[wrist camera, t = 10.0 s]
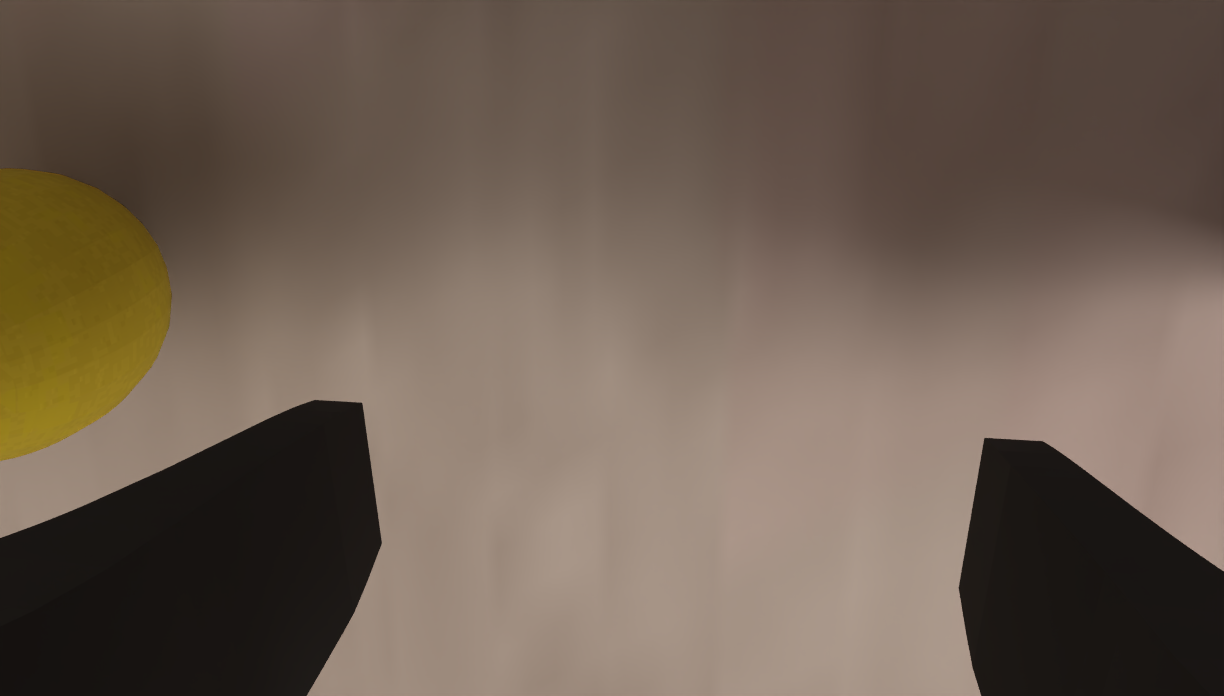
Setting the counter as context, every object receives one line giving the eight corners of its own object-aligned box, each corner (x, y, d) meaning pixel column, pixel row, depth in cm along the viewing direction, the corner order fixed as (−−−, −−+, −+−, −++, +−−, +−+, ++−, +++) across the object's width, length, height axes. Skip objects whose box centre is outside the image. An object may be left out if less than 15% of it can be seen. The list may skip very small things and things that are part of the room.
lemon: (-27, 184, 23) (-394, 311, 15) (151, 95, 21) (-167, 191, 14) (105, 380, 25) (-169, 574, 17) (278, 311, 23) (55, 495, 16)
